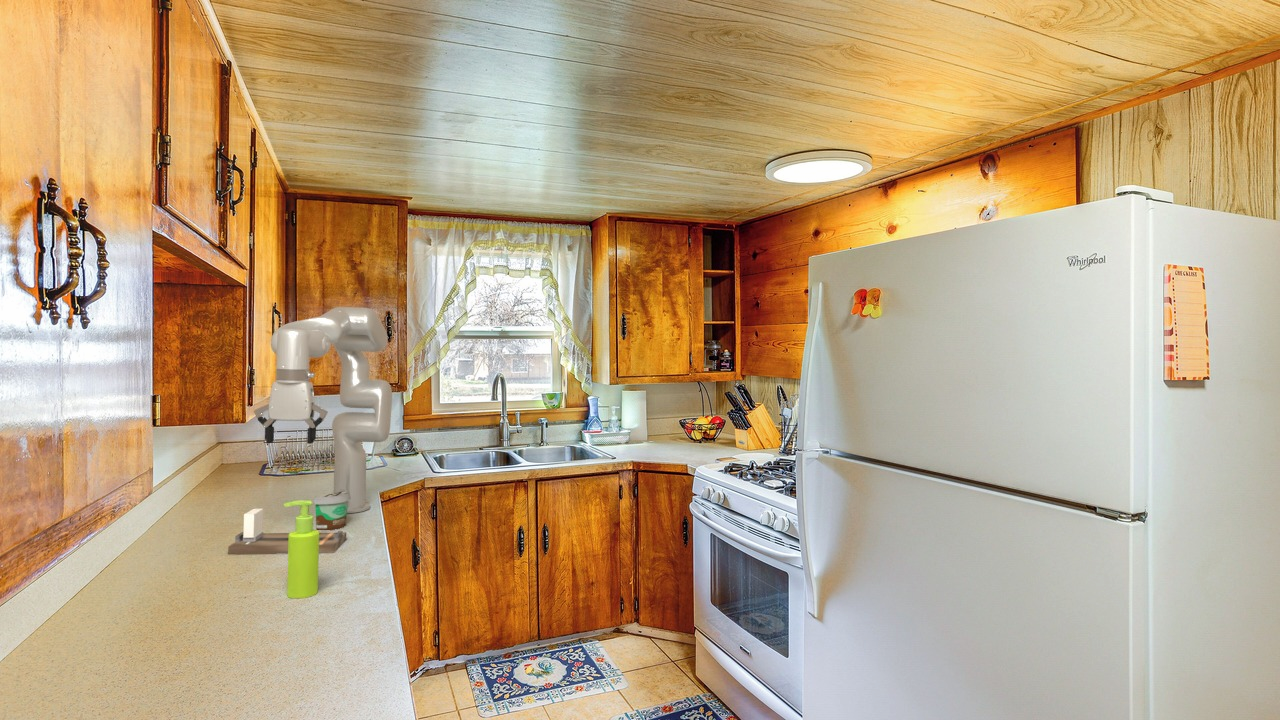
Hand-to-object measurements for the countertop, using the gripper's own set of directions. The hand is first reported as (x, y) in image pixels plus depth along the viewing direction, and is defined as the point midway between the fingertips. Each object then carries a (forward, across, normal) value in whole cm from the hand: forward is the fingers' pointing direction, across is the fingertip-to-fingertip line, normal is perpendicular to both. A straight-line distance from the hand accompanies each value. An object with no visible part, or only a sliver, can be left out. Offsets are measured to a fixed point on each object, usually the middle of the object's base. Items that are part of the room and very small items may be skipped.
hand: (290, 442), depth 171 cm
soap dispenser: (+29, -12, +32) cm, 44 cm away
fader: (+26, +9, -4) cm, 28 cm away
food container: (+28, -7, -23) cm, 36 cm away
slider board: (+28, 0, -4) cm, 28 cm away
